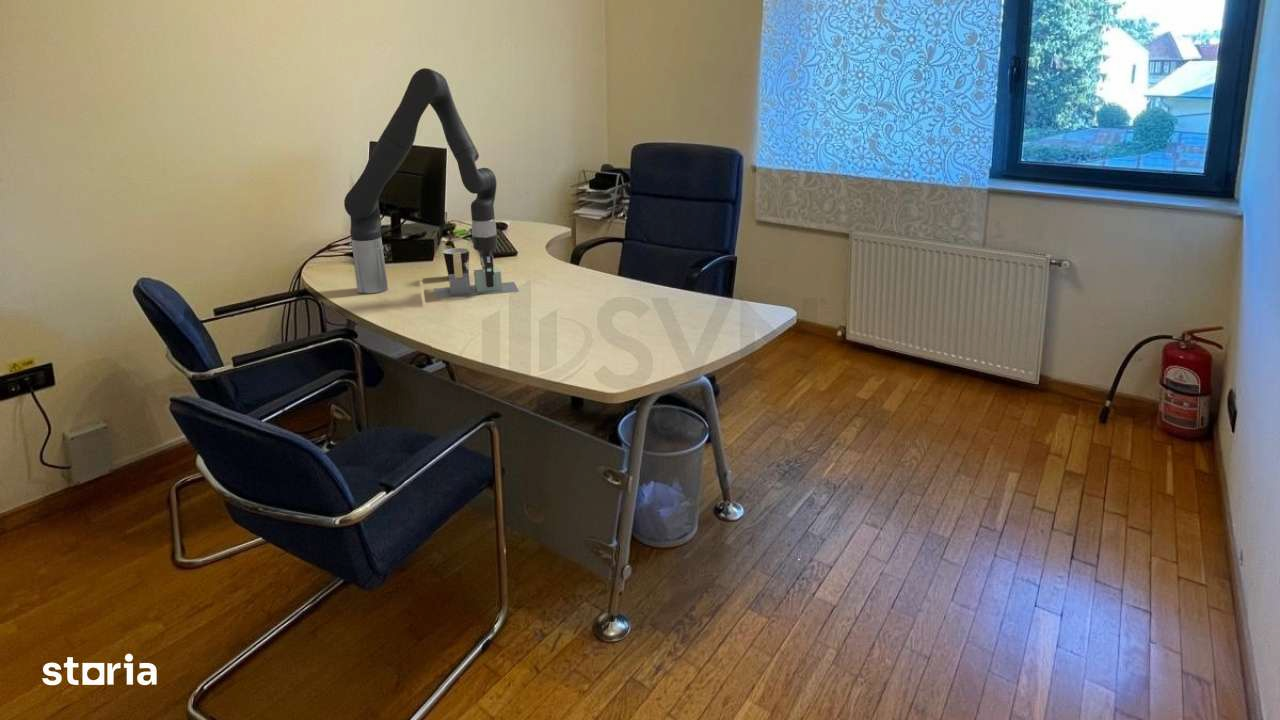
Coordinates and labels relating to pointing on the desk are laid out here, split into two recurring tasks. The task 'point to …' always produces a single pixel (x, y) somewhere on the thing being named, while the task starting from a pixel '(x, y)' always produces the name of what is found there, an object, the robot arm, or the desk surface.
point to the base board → (473, 291)
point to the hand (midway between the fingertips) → (488, 283)
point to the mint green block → (481, 280)
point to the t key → (457, 264)
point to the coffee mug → (450, 264)
